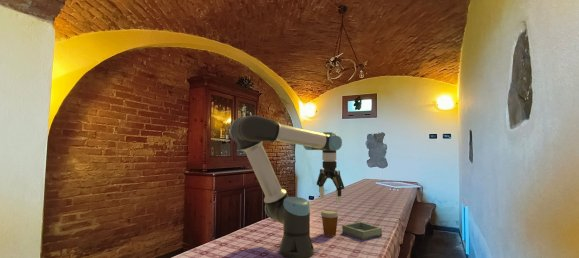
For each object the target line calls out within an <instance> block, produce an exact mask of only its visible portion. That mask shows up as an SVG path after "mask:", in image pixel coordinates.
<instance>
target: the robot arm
mask: <svg viewBox="0 0 579 258" xmlns="http://www.w3.org/2000/svg"><path fill="white" fill-rule="evenodd" d="M336 133H337V132H334V131H331V132H330V131H329V132H328V131H326V132H325V131H323V132H319V131H315V130H309V129H305V128H300V127H296V126H292V125H288V124H287V125H286V124H283V123H279V121H278V120H275V119H271V118H268V117H264V116H260V115H256V114H255V115H253V114H252V115H251V114H250V115H248V116H240V117H238V118H237V119H236V118H235V120H234V121H232V123H231V125H230V127H229V135H230V137H231V139H232V140H233V142H235V143H236V144H237V146H238V147H239V149H240V151H242V152H245V154H246V156H247V159H248V162H249V164H250V166H251V168H252V170H253V172H254V174H255V175H254V176H255V177H256V179H257V181H258V184H259V186H260V187H261V190H262V192H263V194H264V198H263V202H264V204H265V205H264V211H265V214H266V215H267V217H269V218H270V219H271V220H272V221H275V222H278V223H280V224H282V225H283V228H282V230H283V235H282V238H281V242H280V244H279V250H278V251H279V255H281V256H282V257H283V258H311V257H312V256H314V252H315V250H314V244H313V241H312V239H311V235H310V227H311V222H310V219H311V217H310V215H311V213H310V212H311V207H310V202H309V200H307V199H306V198H303V197H300V196H299V197H298V196H290V195H288V191H287V190H286V189H284V188H282V186H281V183H280V182H279V179H278V177H277V175H276V173H275V170H274V168H273V165H272V164H271V161H270V159H269V156H268V154H267V152H266V149H265V148H264V145H263V144H264V143H263V142H268V143H269V142H270V143H275V142H281V143H288V144H293V145H297V146H298V145H299V146H303V148H304V149H305V150H306V151H321V152H322V155H321V156H322V159H321V160H322V168H320V169H319V175H318V177H317V180H316V185H317V186H318V192H319V200H324V199H325V183H326V182H327V179H330V180H331V181H332V183H333V184H334V186H335V188H336V189H335V204H336V203H337V204H339V203H341V202H342V190H345V185H344V182H343V180H342V176H341V170H339V169H338V170H337V169H336V168H337V165H338V164H337V151H338V150H340V149H341V148H342V145H343V139H342V137H341V136H340V135H338V134H336Z"/></svg>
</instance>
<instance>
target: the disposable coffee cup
mask: <svg viewBox="0 0 579 258" xmlns="http://www.w3.org/2000/svg"><path fill="white" fill-rule="evenodd" d="M320 215H321V221H322V229H323V235H324V236H325V237H326V236H327V237H335V236H336V235H337V227H338V220H339V215H340V214H339V212H338V211H337V210H333V209H324V210H321V213H320Z"/></svg>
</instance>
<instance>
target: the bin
mask: <svg viewBox="0 0 579 258" xmlns="http://www.w3.org/2000/svg"><path fill="white" fill-rule="evenodd" d="M341 229H342V230H341V231H342V234H345V235H347V236H351V237H353V238H356V239H359V240H361V241H366V240H370V239H373V238H378V237H382V236H383V228H382V227H380V226H376V225H373V224H369V223H366V222H363V221H357V222H353V223H348V224H347V223H346V224H342V228H341Z"/></svg>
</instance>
